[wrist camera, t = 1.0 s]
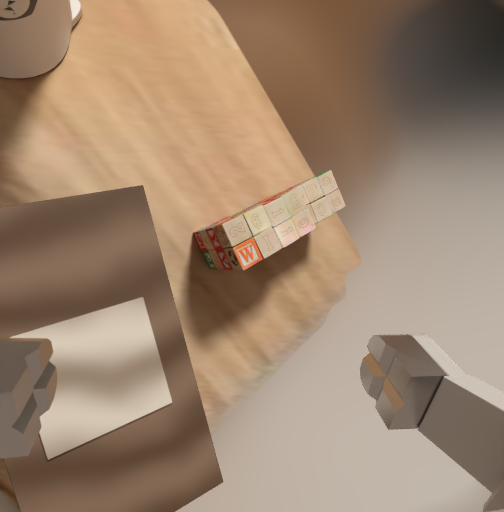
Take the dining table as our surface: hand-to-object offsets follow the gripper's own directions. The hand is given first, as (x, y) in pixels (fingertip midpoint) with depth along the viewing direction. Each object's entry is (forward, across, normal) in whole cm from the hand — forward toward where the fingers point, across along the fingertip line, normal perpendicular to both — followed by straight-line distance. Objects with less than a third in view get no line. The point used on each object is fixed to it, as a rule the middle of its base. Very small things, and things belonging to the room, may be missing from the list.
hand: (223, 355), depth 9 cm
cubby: (+30, +13, +24) cm, 41 cm away
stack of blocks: (+44, -10, +12) cm, 47 cm away
